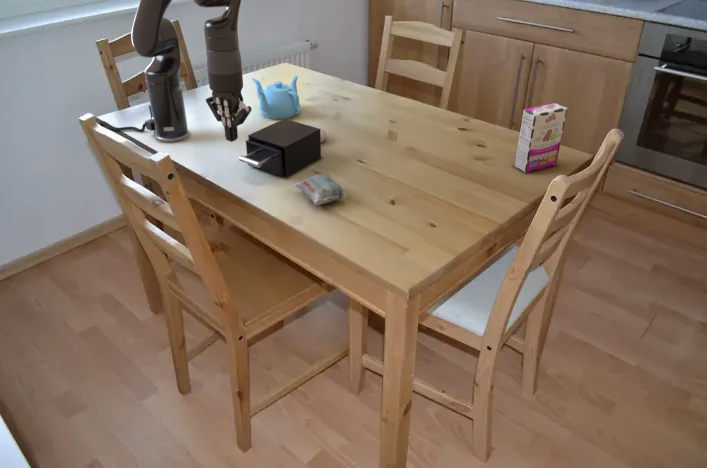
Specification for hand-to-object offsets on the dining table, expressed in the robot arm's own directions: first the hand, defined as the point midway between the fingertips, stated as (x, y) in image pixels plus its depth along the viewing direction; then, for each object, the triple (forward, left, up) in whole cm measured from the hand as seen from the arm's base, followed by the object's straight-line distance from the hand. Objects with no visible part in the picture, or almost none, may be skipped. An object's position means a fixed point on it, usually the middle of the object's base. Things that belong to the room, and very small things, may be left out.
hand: (231, 139), depth 139 cm
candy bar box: (+56, +57, -13) cm, 81 cm away
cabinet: (0, +19, -13) cm, 23 cm away
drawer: (0, +14, -12) cm, 18 cm away
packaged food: (+20, +8, -13) cm, 25 cm away
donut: (-4, +34, -13) cm, 37 cm away
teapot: (-26, +45, -13) cm, 53 cm away
